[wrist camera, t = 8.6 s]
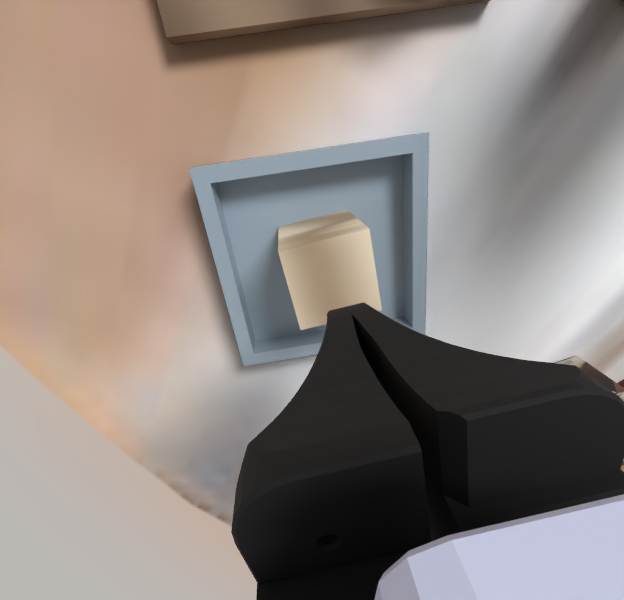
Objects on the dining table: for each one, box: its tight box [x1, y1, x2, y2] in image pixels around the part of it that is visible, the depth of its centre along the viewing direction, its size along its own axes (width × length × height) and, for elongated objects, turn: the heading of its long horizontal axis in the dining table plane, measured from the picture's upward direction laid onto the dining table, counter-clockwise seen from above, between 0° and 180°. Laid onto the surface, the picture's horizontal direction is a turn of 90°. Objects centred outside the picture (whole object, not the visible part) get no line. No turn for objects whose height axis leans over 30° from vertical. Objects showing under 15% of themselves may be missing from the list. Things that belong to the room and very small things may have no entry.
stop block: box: [278, 210, 382, 330], centre depth 17 cm, size 4×4×5 cm
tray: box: [189, 133, 429, 366], centre depth 19 cm, size 12×12×2 cm
